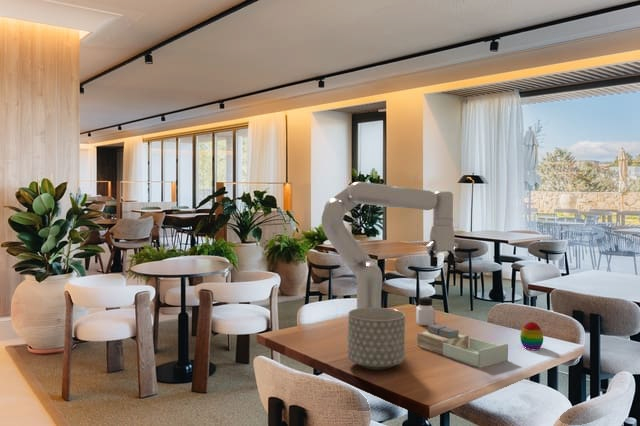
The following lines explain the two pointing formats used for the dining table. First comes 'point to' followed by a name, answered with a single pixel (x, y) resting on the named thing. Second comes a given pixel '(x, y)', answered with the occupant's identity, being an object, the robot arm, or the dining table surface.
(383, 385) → the dining table surface
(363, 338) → the planter
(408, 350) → the dining table surface
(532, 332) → the decorative egg
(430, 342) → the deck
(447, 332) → the tile front
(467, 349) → the tray
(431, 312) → the medicine bottle
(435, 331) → the tile rear
